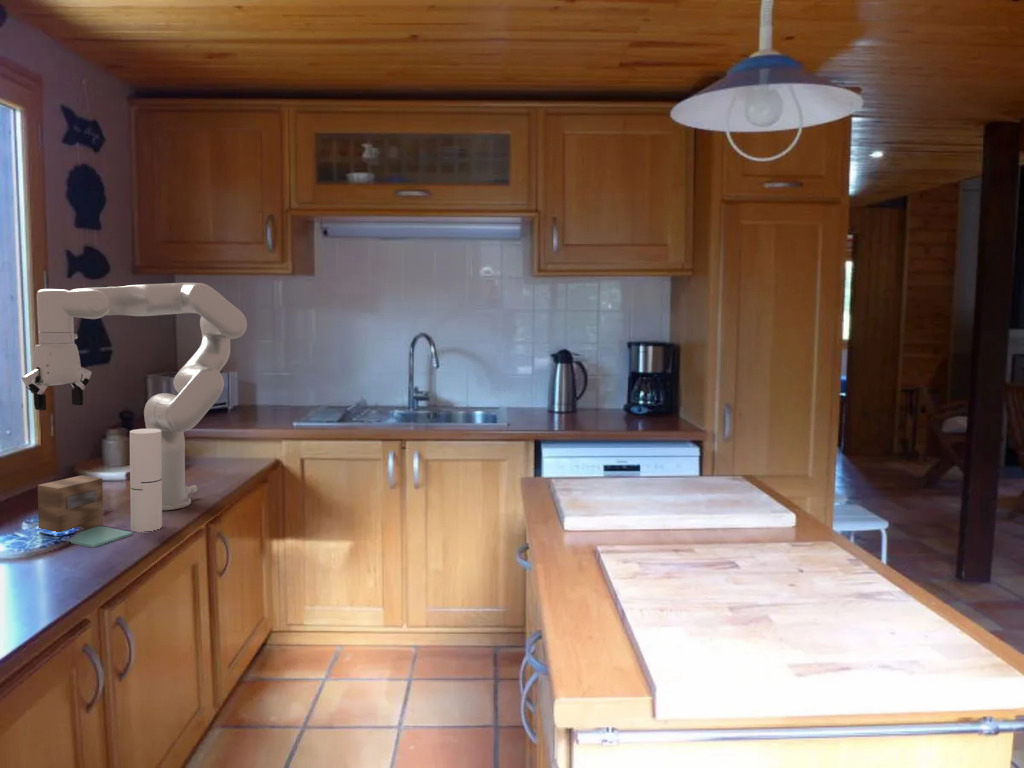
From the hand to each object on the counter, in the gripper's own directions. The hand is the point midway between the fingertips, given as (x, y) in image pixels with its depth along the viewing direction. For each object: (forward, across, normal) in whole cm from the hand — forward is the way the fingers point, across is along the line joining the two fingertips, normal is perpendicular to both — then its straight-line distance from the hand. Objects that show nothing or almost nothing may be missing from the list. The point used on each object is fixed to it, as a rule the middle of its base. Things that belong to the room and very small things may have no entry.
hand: (59, 407), depth 185 cm
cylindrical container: (+30, -7, +20) cm, 37 cm away
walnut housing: (+30, +2, +6) cm, 30 cm away
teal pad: (+30, +4, +17) cm, 34 cm away
